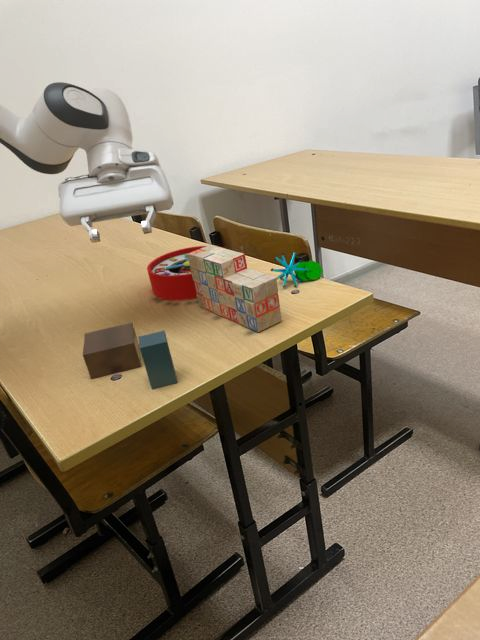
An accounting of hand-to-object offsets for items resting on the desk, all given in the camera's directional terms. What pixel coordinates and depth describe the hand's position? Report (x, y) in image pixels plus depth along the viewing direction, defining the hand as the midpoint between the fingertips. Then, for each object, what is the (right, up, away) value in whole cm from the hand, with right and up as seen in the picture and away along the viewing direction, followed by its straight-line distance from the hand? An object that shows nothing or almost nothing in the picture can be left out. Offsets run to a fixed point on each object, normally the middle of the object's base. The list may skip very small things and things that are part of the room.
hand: (121, 236), depth 95 cm
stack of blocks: (+20, -13, +15) cm, 28 cm away
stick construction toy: (+33, -5, +26) cm, 42 cm away
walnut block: (-2, -22, +4) cm, 23 cm away
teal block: (+8, -25, -4) cm, 27 cm away
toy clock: (+9, -4, +34) cm, 35 cm away
